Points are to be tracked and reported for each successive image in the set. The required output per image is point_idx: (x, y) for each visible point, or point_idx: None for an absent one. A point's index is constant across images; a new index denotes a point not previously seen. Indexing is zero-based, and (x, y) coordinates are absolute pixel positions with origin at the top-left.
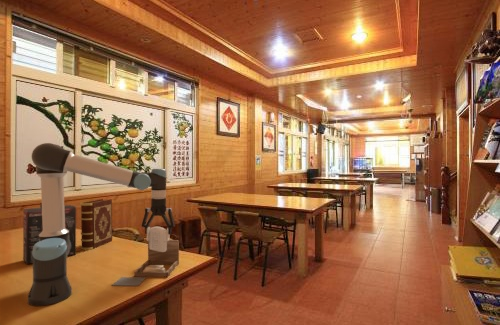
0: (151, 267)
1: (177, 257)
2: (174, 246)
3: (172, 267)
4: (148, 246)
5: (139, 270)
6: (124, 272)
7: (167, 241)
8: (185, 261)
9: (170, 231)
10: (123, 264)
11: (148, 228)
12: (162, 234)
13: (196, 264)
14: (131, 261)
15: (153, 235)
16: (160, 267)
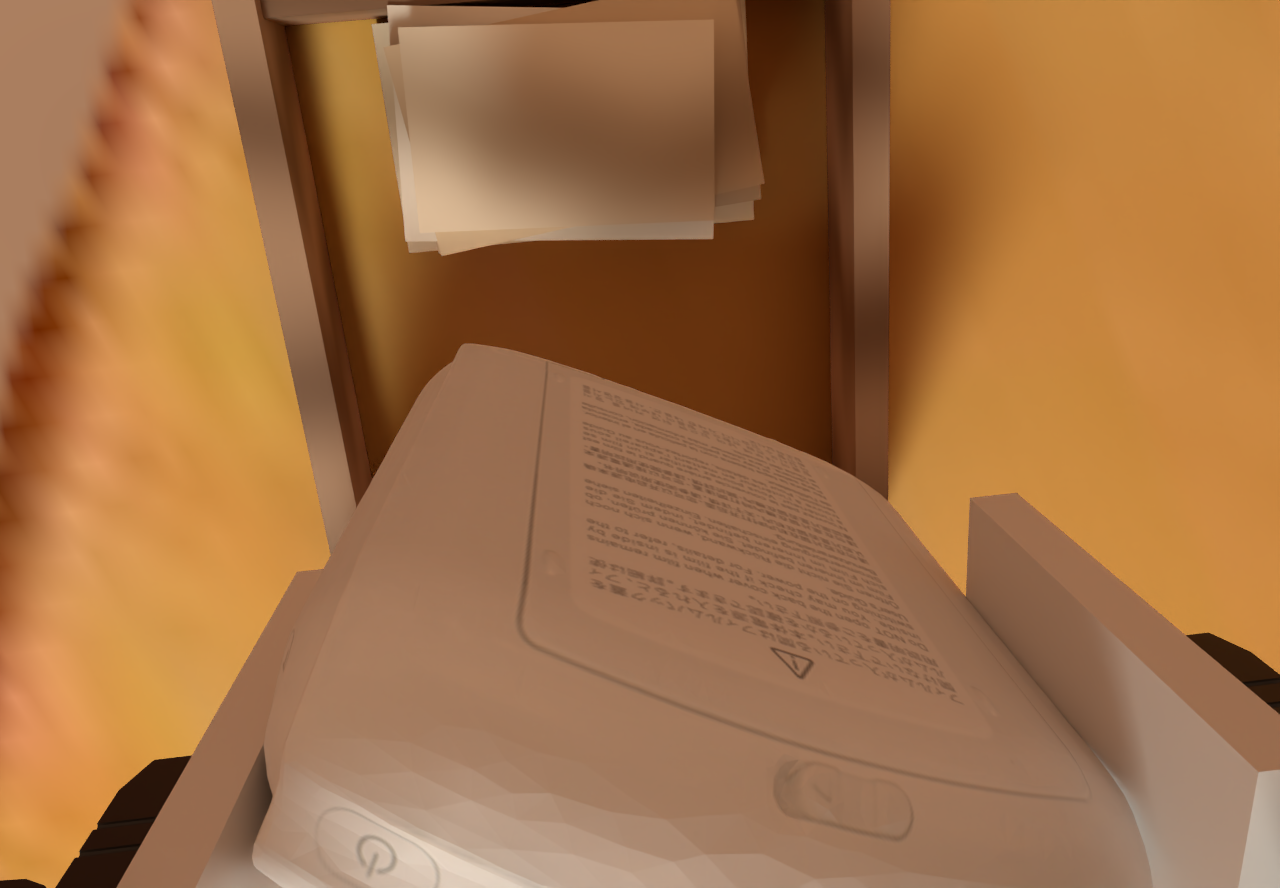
0: (612, 92)
1: None
2: None
3: (275, 281)
4: None
5: (844, 101)
6: (1103, 136)
7: None
8: None
9: (79, 857)
10: (1243, 467)
11: (1241, 785)
12: (367, 547)
13: (52, 634)
14: (1165, 599)
15: (843, 607)
16: (428, 112)
